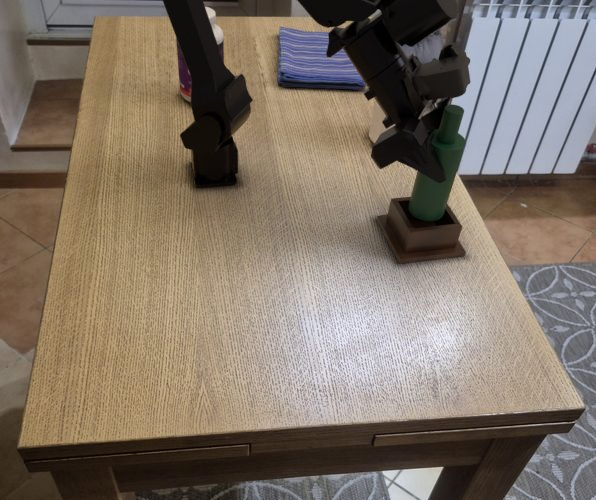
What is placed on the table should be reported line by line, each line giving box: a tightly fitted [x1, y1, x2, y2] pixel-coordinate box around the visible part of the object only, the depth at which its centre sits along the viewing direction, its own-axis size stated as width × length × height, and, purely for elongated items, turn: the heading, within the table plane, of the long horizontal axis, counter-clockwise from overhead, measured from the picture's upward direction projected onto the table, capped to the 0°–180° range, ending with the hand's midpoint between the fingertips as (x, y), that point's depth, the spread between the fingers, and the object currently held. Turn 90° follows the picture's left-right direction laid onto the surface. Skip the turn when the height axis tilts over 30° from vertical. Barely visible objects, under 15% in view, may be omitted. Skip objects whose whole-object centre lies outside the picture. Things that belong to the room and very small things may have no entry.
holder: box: [375, 196, 467, 265], centre depth 88 cm, size 10×10×4 cm
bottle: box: [408, 103, 467, 221], centre depth 80 cm, size 5×5×15 cm
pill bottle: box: [175, 6, 225, 103], centre depth 107 cm, size 8×8×14 cm
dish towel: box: [277, 26, 367, 91], centre depth 123 cm, size 17×24×3 cm
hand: (448, 171), depth 81 cm, fingers closed on bottle, 5 cm apart
